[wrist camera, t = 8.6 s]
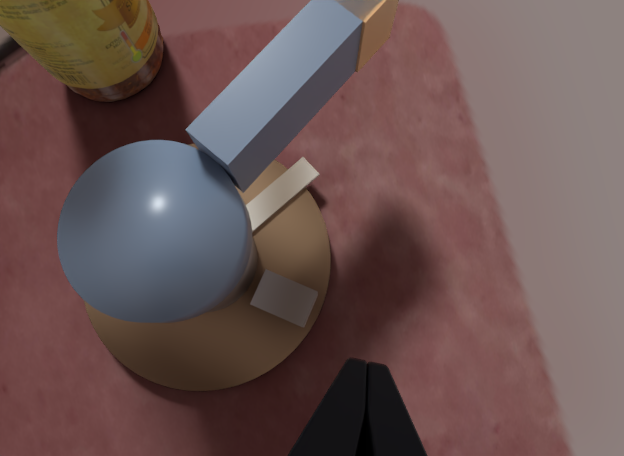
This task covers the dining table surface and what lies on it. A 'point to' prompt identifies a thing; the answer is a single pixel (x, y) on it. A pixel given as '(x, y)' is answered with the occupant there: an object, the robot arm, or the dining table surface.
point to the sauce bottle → (89, 42)
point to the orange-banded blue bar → (207, 175)
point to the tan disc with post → (242, 297)
